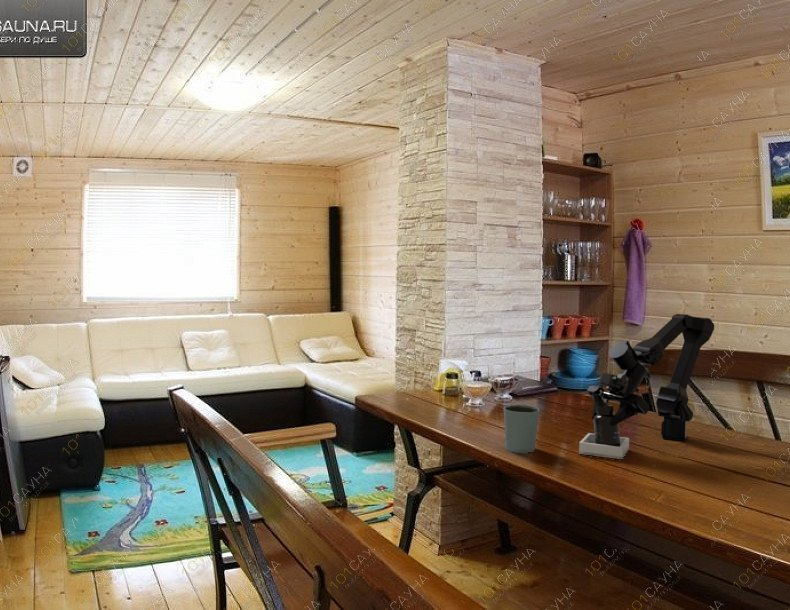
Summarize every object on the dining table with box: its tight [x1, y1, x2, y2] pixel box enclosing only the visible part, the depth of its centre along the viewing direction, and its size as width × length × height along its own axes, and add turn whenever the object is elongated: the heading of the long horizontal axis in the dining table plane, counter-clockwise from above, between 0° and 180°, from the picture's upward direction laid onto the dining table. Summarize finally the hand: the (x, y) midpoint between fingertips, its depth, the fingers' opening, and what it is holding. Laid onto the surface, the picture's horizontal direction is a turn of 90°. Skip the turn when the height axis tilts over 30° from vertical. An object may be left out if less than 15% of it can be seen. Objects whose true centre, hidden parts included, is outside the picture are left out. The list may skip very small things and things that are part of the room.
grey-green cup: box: [503, 404, 540, 454], centre depth 194 cm, size 10×10×12 cm
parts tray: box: [578, 432, 630, 460], centre depth 191 cm, size 12×12×4 cm
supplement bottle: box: [593, 404, 621, 447], centre depth 191 cm, size 7×7×12 cm
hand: (602, 422), depth 190 cm, fingers closed on supplement bottle, 7 cm apart
